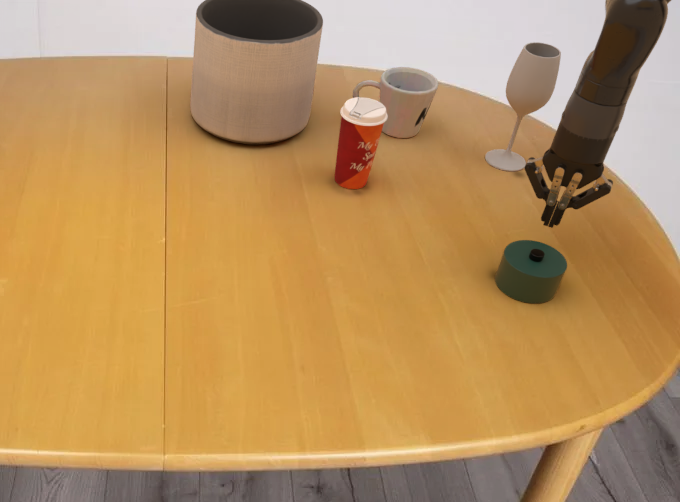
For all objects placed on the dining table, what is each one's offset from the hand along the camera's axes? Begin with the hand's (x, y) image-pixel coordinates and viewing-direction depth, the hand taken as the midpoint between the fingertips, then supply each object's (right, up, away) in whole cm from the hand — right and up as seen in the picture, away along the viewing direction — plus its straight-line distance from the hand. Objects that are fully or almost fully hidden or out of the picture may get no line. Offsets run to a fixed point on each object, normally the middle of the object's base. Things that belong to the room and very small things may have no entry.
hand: (548, 224), depth 135 cm
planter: (-44, +24, +31) cm, 59 cm away
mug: (-18, +22, +31) cm, 42 cm away
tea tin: (-5, -10, -3) cm, 11 cm away
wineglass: (+2, +14, +23) cm, 27 cm away
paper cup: (-27, +9, +17) cm, 33 cm away
